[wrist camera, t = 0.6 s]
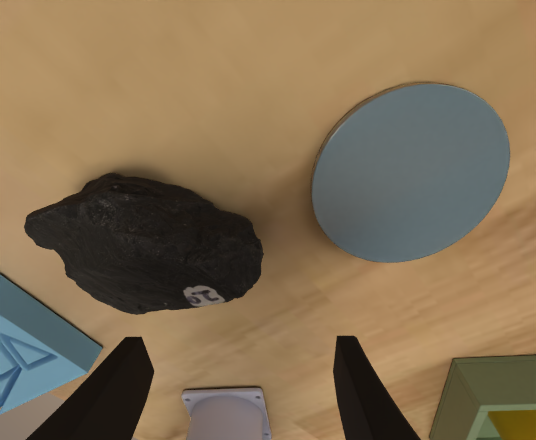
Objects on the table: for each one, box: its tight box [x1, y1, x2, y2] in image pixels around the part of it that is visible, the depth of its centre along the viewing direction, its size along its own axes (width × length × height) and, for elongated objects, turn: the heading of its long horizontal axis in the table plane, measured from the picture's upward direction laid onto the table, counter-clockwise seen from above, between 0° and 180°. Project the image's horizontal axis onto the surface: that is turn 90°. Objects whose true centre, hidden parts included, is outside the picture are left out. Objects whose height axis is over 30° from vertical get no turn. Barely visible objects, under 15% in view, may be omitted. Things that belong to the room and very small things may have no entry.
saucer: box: [311, 82, 510, 263], centre depth 17 cm, size 11×11×1 cm
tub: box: [429, 355, 536, 440], centre depth 27 cm, size 14×14×4 cm
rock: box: [24, 173, 264, 315], centre depth 17 cm, size 9×10×6 cm
